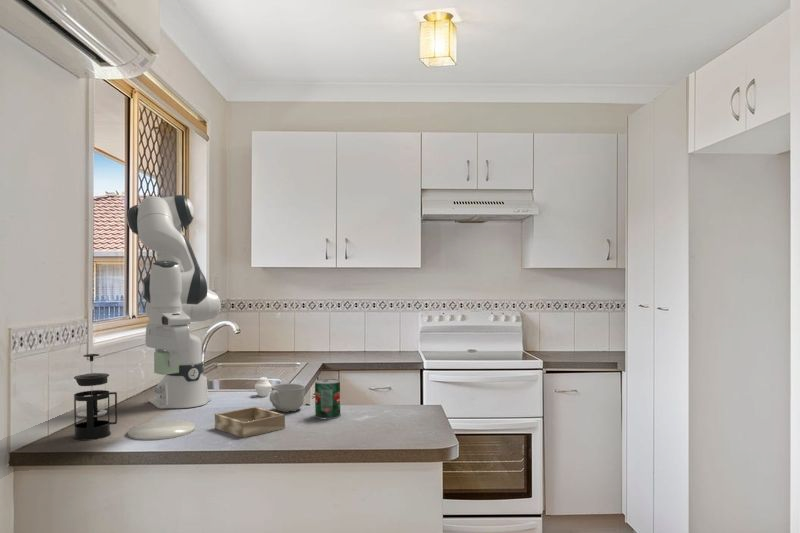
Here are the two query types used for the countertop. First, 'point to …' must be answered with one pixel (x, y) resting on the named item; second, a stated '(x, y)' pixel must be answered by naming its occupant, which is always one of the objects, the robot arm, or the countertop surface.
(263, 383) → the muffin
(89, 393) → the french press
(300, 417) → the countertop surface
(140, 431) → the white round dish
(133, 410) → the countertop surface
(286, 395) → the teacup
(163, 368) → the block
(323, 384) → the canned tomato
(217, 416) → the wooden frame
